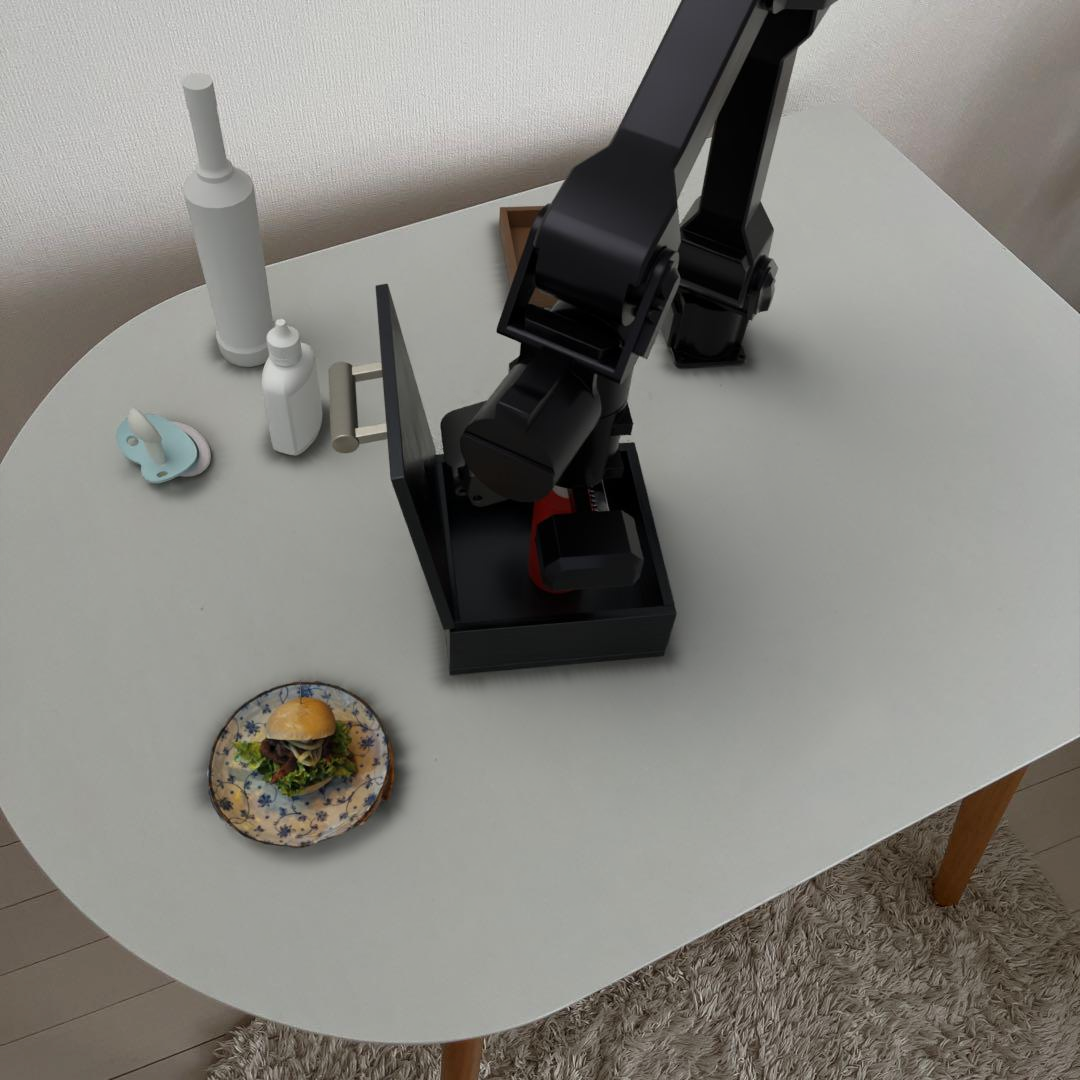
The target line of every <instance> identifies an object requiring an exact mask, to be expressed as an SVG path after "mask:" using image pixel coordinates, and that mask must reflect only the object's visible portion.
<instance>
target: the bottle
mask: <svg viewBox="0 0 1080 1080" xmlns="http://www.w3.org/2000/svg"><path fill="white" fill-rule="evenodd" d="M181 85H182V90H183V94H184V99H185V104H186V108H187V110H188V114H189V119H190V124H191V129H192V134H193V139H194V145H195V148H196V153H197V158H198V162H197V163H196V165H195V168H194V169H195V170H194V171H193V172H192V173H190V174H189V175H188V176H187V177H186V178H185V179H184V180H183V184H182V188H181V190H182V193H183V198H184V200H185V206H186V209H187V214H188V218H189V221H190V227H191V229H192V233H193V237H194V241H195V246H196V249H197V253H198V257H199V261H200V265H201V269H202V273H203V277H204V281H205V284H206V285H205V286H206V289H207V292H208V296H209V299H210V300H209V301H210V305H211V309H212V313H213V316H214V320H215V325H216V332H215V338H216V342H217V345H218V348H219V351H220V353H221V355H222V356H223V358H225V360H227V361H228V362H229V363H230V364H232V365H235V366H237V367H241V368H242V367H244V368H252V367H257V366H261V365H263V364H265V363H266V361H267V359H268V357H269V351H268V345H267V339H266V337H267V334H268V332H269V331H270V330H271V329H272V328H274V327H275V325H276V321H274V318H273V312H272V306H271V298H270V291H269V285H268V275H267V269H266V263H265V256H264V249H263V248H264V247H263V241H262V235H261V227H260V221H259V220H260V219H259V214H258V212H259V211H258V206H257V199H256V191H255V185H254V182H253V179H252V177H251V175H250V174H248V173H247V172H245V170H243V169H241V168H239V167H237V166H234V165H233V163H232V161H230V159H228V158H227V154H226V149H225V144H224V137H223V133H222V127H221V123H220V121H221V120H220V117H219V111H218V102H217V96H216V91H215V86H214V80H213V77H211V76H210V75H209V74H206V73H204V72H203V73H202V72H193V73H190V74H188V75H185V76H184V77H183V78H182V81H181Z"/></svg>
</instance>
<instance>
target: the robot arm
mask: <svg viewBox="0 0 1080 1080" xmlns="http://www.w3.org/2000/svg"><path fill="white" fill-rule="evenodd" d="M838 1H839V0H680V2H679V5H678V6H677V8H676V10H675V13H674V14H673V17H672V18H671V20H670V23H669V24H668V26H667V29H666V31H665V32H664V34H663V36H662V39H661V41H660V43H659V45H658V47H657V49H656V51H655V53H654V55H653V56H652V59H651V61H650V63H649V65H648V67H647V69H646V71H645V72H644V75H643V77H642V79H641V80H640V83H639V85H638V87H637V89H636V91H635V93H634V95H633V97H632V98H631V101H630V103H629V106H628V107H627V110H626V111H625V113H624V116H623V118H622V120H621V121H620V122H619V123H620V124H619V126H618V128H617V129H616V131H615V133H614V135H613V136H612V138H611V140H610V141H609V143H608V145H606V146H604V147H603V148H601V149H600V150H598V151H596V152H594V153H593V154H591V155H590V156H588V157H587V158H585V159H583V160H581V161H579V162H578V163H576V164H575V165H574V166H573V167H571V169H570V170H569V172H568V173H567V175H566V177H565V178H564V180H563V182H562V184H561V186H560V187H559V189H558V190H557V192H556V194H555V196H554V197H553V199H552V200H551V203H550V202H549V203H546V204H545V205H543V206H544V207H543V208H542V209H541V211H540V212H539V213H538V215H537V217H536V219H535V220H534V222H533V225H532V227H531V230H530V232H529V235H528V238H527V241H526V244H525V247H524V250H523V253H522V256H521V259H520V262H519V264H518V267H517V270H516V273H515V276H514V279H513V282H512V285H511V288H509V291H508V294H507V297H506V299H505V303H504V305H503V308H502V311H501V315H500V317H499V320H498V323H497V326H496V333H497V334H498V335H501V336H503V337H506V338H509V339H511V340H513V341H516V342H518V343H520V345H519V347H520V348H519V355H518V356H517V357H516V358H514V359H513V360H511V361H510V362H509V363H508V373H507V374H506V376H505V377H504V378H503V379H502V381H501V382H500V383H499V385H498V386H497V387H496V389H495V390H494V391H493V392H492V394H491V395H490V396H489V397H488V399H486V400H483V401H479V402H476V403H472V404H470V405H466V406H462V407H460V408H459V407H458V408H457V409H453V410H450V411H448V412H446V414H445V415H444V416H443V417H442V418H441V421H440V425H439V427H440V434H441V443H442V445H441V446H442V452H443V453H442V454H444V460H445V463H446V465H447V466H448V468H449V470H450V472H451V474H452V476H453V483H454V491H455V494H456V495H457V496H467V497H468V499H469V501H470V503H471V504H472V505H474V506H478V507H483V506H487V505H490V504H494V503H497V502H501V501H504V500H508V499H512V500H515V501H519V502H535V501H539V500H541V499H543V498H545V497H546V496H547V495H548V494H549V493H550V492H551V490H552V489H553V487H554V486H555V485H556V486H559V487H562V488H567V491H568V496H569V501H570V506H571V511H572V513H567V514H552V515H551V516H549V517H548V518H546V519H545V520H543V521H541V522H540V523H538V524H537V529H536V537H535V538H534V539H535V544H536V550H537V557H538V563H539V569H540V575H541V580H542V585H543V586H545V587H546V588H548V589H549V590H551V591H552V592H553V591H566V590H580V589H594V588H607V587H621V586H632V585H633V584H634V583H635V582H636V581H637V580H638V579H639V577H640V573H641V569H642V565H643V562H644V560H643V556H642V551H641V547H640V543H639V539H638V535H637V531H636V526H635V522H634V518H633V517H631V516H630V515H628V514H627V513H625V512H624V511H622V510H614V511H609V507H608V503H607V498H606V494H605V489H604V485H603V480H602V479H614V478H622V475H623V470H624V466H623V462H622V458H621V454H620V450H619V443H620V439H621V437H622V436H631V435H632V431H633V428H634V422H633V417H632V414H631V410H630V406H629V402H628V400H629V393H630V388H631V383H632V378H633V375H634V374H633V373H634V368H635V365H636V364H637V362H638V359H639V358H640V357H641V358H642V359H645V360H648V358H649V356H650V354H651V351H652V350H653V347H654V344H655V342H656V340H657V338H658V336H659V333H660V331H662V335H663V338H664V342H665V345H666V348H668V349H669V350H670V353H671V356H672V360H673V363H674V365H675V366H676V367H678V368H695V367H709V366H710V367H712V366H714V367H715V366H729V365H730V366H731V365H732V366H733V365H743V364H745V363H746V361H747V355H746V352H745V349H744V345H743V343H744V340H745V337H746V336H745V335H746V332H747V329H748V325H749V322H750V321H751V322H753V320H754V318H755V317H756V315H758V314H760V313H763V312H768V311H769V309H770V307H771V305H772V301H773V298H774V294H775V291H776V290H775V289H776V288H775V284H776V281H777V280H776V276H777V273H778V271H779V267H778V265H777V263H776V261H775V259H774V258H772V257H769V256H770V251H771V248H772V243H773V238H774V232H775V228H774V226H773V224H772V222H771V219H770V217H769V215H768V214H767V212H766V209H765V207H764V205H763V203H762V198H763V193H764V189H765V184H766V180H767V176H768V173H769V168H770V163H771V160H772V155H773V151H774V148H775V143H776V139H777V135H778V132H779V128H780V123H781V119H782V115H783V110H784V107H785V103H786V98H787V94H788V91H789V86H790V83H791V78H792V73H793V70H794V66H795V62H796V59H797V54H798V50H799V47H801V45H803V44H804V43H805V42H806V41H807V40H808V39H810V38H811V37H812V36H813V34H814V32H815V31H816V29H818V26H819V25H820V23H821V21H822V20H823V18H824V17H825V15H826V14H827V12H828V11H829V10H830V7H831V6H832V5H834V4H835V3H836V2H838ZM711 131H712V134H711V140H710V145H709V150H708V157H707V161H706V168H705V171H704V177H703V182H702V189H701V192H700V193H701V194H700V196H698V197H697V198H696V199H695V200H693V201H694V202H693V203H692V204H691V206H690V207H689V209H688V211H687V212H686V214H685V216H684V217H683V218H682V220H681V222H680V216H679V205H678V201H679V199H680V196H681V194H682V191H683V189H684V186H685V184H686V182H687V180H688V178H689V176H690V174H691V172H692V170H693V167H694V166H695V163H696V161H697V159H698V158H699V156H700V153H701V151H702V150H703V147H704V145H705V143H706V141H707V139H708V137H709V135H710V132H711ZM536 287H537V289H538V290H539V291H540V292H541V293H544V294H546V295H549V296H551V297H554V298H556V299H559V300H558V301H557V302H556V304H555V305H554V306H551V307H550V308H549V309H546V308H545V307H539V306H536V305H534V304H528V303H529V301H530V299H531V297H532V295H533V293H534V291H535V289H536ZM588 489H589V492H588ZM589 494H590V496H589ZM590 499H591V501H590ZM591 503H592V506H591ZM592 508H594V509H593V510H592Z"/></svg>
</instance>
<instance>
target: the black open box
mask: <svg viewBox="0 0 1080 1080" xmlns="http://www.w3.org/2000/svg"><path fill="white" fill-rule="evenodd" d="M619 450H620V454H621V458H622V462H623V466H624V470H623V475H622V478H614V479H602V480H603V485H604V489H605V494H606V498H607V503H608V507H609V511H614V510H622V511H624V512H625V513H627V514H628V515H630V516H631V517H633V518H634V522H635V526H636V531H637V535H638V539H639V543H640V547H641V551H642V556H643V560H644V562H643V565H642V569H641V573H640V577H639V579H638V580H637V581H636V582H635V583H634V584H633V585H632V586H621V587H607V588H594V589H580V590H572V591H569V592H566V593H551V592H547V591H545V590H542V589H541V588H539V587H538V586H537V585H536V584H535V583H534V582H533V581H532V580H531V578H530V576H529V573H528V560H529V549H530V539H531V529H532V519H533V509H534V502H519V501H515V500H512V499H508V500H504V501H501V502H497V503H494V504H490V505H487V506H483V507H478V506H474V505H472V504H471V503H470V501H469V499H468V497H467V496H457V495H456V494H455V491H454V483H453V476H452V474H451V472H450V470H449V468H448V466H447V465H446V463H445V460H444V453H439V454H438V453H436V457H437V466H438V475H439V484H440V493H441V502H442V511H443V520H444V529H445V538H446V547H447V556H448V565H449V574H450V584H451V593H452V602H453V611H454V620H455V628H454V629H448V630H444V635H445V645H446V646H445V647H446V654H447V655H446V656H447V665H448V674H449V676H457V675H469V674H470V675H471V674H480V673H491V672H502V671H513V670H524V669H526V670H527V669H536V668H547V667H558V666H559V667H560V666H569V665H580V664H581V665H582V664H592V663H603V662H613V661H625V660H636V659H637V660H638V659H647V658H648V659H649V658H659V657H664V656H665V654H666V652H667V647H668V644H669V640H670V638H671V634H672V631H673V628H674V625H675V622H676V618H677V615H678V612H677V608H676V605H675V604H676V603H675V600H674V596H673V592H672V588H671V587H672V586H671V584H670V579H669V575H668V571H667V567H666V563H665V558H664V554H663V551H662V547H661V543H660V539H659V535H658V530H657V527H656V526H657V525H656V522H655V518H654V514H653V511H652V507H651V503H650V500H649V499H650V498H649V494H648V490H647V487H646V483H645V478H644V474H643V471H642V466H641V462H640V458H639V454H638V450H637V447H636V442H635V441H631V442H630V441H629V442H619Z"/></svg>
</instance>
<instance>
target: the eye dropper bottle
mask: <svg viewBox="0 0 1080 1080" xmlns="http://www.w3.org/2000/svg"><path fill="white" fill-rule="evenodd" d="M275 324H276V325H275V327H274V328H272V329H271V330H270V331H269V332H268V334H267V337H266V339H267V345H268V351H269V357H268V359H267V361H266V362H265V363H264V367H263V370H262V374H261V392H262V398H263V405H264V409H265V415H266V420H267V426H268V431H269V435H270V442H271V446H272V448H273V450H274V451H276V452H279V453H280V454H281V453H282V454H285V455H288V456H289V455H290V456H299V455H301V454H302V453H304V452H305V451H306V450H307V449H308V448H309V447H310V446H311V445H312V444H313V443H314V441H315V440H316V439H317V437H318V435H319V433H320V431H321V427H322V423H323V405H322V397H321V389H320V383H319V375H318V368H317V361H316V356H315V351H314V349H313V347H312V346H311V345H309V344H308V343H305V342H302V341H301V337H300V336H301V335H300V332H299V331H298V330H297V329H296V328H294V327H293V326H291V325H288V324H287V322H286V320H285V319H283V318H278V319H277V320H276V321H275Z"/></svg>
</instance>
